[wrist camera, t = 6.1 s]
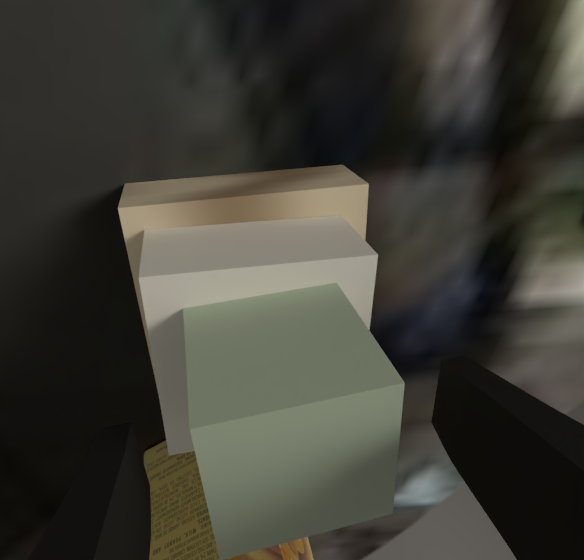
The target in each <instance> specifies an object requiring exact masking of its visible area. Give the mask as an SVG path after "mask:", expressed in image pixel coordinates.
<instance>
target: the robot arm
mask: <svg viewBox="0 0 584 560" xmlns="http://www.w3.org/2000/svg"><path fill="white" fill-rule="evenodd" d="M432 424H433V426H434V428H435V430H436V432H437V434H438V436H439V438H440V440H441V442H442V444H443V446H444V448H445V450H446V452H447V454H448V456H449V458H450V459H451V461H452V463H453V464H454V466H455V467H456V469H457V471H458V472H459V474H460V475H461V477H462V478H463V480H464V481H465V483H466V484H467V486H468V487H469V489H470V490H471V492H472V493H473V494H474V496H475V498H476V499H477V500H478V502H479V503H480V505H481V506H482V508H483V509H484V511H485V512H486V514H487V515H488V516H489V518H490V520H491V521H492V522H493V524H494V526H495V527H496V528H497V530H498V532H499V533H500V534H501V536H502V537H503V539H504V540H505V542H506V543H507V545H508V546H509V548H510V549H511V551H512V552H513V554H514V556H515V557H516V559H517V560H584V425H583V424H581V423H579V422H577V421H575V420H574V419H572V418H570V417H568V416H566V415H565V414H563V413H561V412H559V411H557V410H556V409H554V408H552V407H550V406H549V405H547V404H545V403H543V402H542V401H540V400H538V399H537V398H535V397H533V396H531V395H530V394H528V393H526V392H525V391H523V390H521V389H520V388H518V387H516V386H515V385H513V384H511V383H509V382H508V381H506V380H504V379H503V378H501V377H499V376H498V375H496V374H494V373H493V372H491V371H489V370H488V369H486V368H484V367H482V366H481V365H479V364H477V363H476V362H474V361H472V360H470V359H468V358H466V357H465V356H463V357H458V358H453V359H448V360H442V361H441V365H440V372H439V378H438V385H437V391H436V397H435V404H434V410H433V416H432ZM150 542H151V499H150V483H149V480H148V477H147V473H146V470H145V466H144V463H143V460H142V456H141V453H140V449H139V446H138V442H137V439H136V436H135V432H134V429H133V425H132V422H131V423H126V424H121V425H116V426H111V427H106V428H101V430H100V431H99V432H98V433H97V435H96V437H95V439H94V441H93V443H92V445H91V447H90V449H89V451H88V453H87V456H86V458H85V460H84V462H83V464H82V466H81V467H80V469H79V471H78V473H77V475H76V477H75V479H74V481H73V483H72V485H71V487H70V488H69V490H68V492H67V494H66V496H65V498H64V499H63V501H62V503H61V505H60V506H59V508H58V510H57V512H56V514H55V515H54V517H53V519H52V521H51V522H50V524H49V526H48V528H47V529H46V531H45V533H44V535H43V536H42V538H41V540H40V541H39V543H38V544H37V546H36V548H35V549H34V551H33V552H32V554H31V556H30V557H29V559H28V560H149V554H150Z"/></svg>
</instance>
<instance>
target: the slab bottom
mask: <svg viewBox="0 0 584 560" xmlns="http://www.w3.org/2000/svg"><path fill="white" fill-rule="evenodd" d="M368 189H369V184H368V183H367V182H365V181H364V180H363V179H361V178H360V177H359V176H357V175H356V174H355V173H353V172H352V171H350V170H349V169H348V168H346V167H345V166H344V165H334V166H322V167H311V168H300V169H288V170H277V171H265V172H254V173H242V174H231V175H219V176H208V177H196V178H185V179H173V180H162V181H150V182H139V183H127V184H125V185H124V188H123V192H122V195H121V199H120V202H119V205H118V212H119V217H120V221H121V226H122V230H123V235H124V239H125V244H126V249H127V253H128V258H129V262H130V267H131V271H132V276H133V281H134V285H135V290H136V294H137V299H138V303H139V308H140V313H141V317H142V322H143V326H144V331H145V335H146V340H147V345H148V349H149V354H150V358H151V363H152V367H153V372H154V377H155V371H154V365H153V359H152V353H151V348H150V342H149V336H148V330H147V324H146V318H145V312H144V306H143V301H142V295H141V289H140V283H139V270H140V262H141V254H142V245H143V237H144V230H148V229H161V228H174V227H188V226H201V225H215V224H228V223H241V222H255V221H268V220H282V219H295V218H309V217H322V216H335V215H341V216H342V217H343V218H344V219H345V220H346V221H347V222H348V223H349V224H350V225H351V226H352V227H353V229H354V230H355V231H356V232H357V233H358V234H359V235H360V236H361V237H362V238H363V239H364V240H365V239H366V222H367V206H368ZM155 381H156V377H155ZM156 386H157V383H156ZM157 390H158V389H157ZM158 395H159V394H158Z"/></svg>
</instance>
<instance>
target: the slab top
mask: <svg viewBox="0 0 584 560" xmlns="http://www.w3.org/2000/svg"><path fill="white" fill-rule="evenodd" d="M377 261H378V254H377V253H376V252H375V251H374V250H373V249H372V248H371V246H370V245H369V244H368V243H367V242H366V241H365V240H364V239H363V238H362V237H361V236H360V235H359V234H358V233H357V232H356V231H355V230H354V229H353V227H352V226H351V225H350V224H349V223H348V222H347V221H346V220H345V219H344V218H343V217H342V216H341V215H335V216H322V217H309V218H295V219H282V220H268V221H255V222H241V223H228V224H215V225H201V226H188V227H174V228H161V229H148V230H144V237H143V245H142V254H141V262H140V270H139V283H140V289H141V295H142V301H143V306H144V312H145V318H146V324H147V330H148V336H149V342H150V348H151V353H152V359H153V365H154V371H155V377H156V383H157V389H158V394H159V400H160V406H161V412H162V418H163V424H164V430H165V436H166V441H167V447H168V453H169V456H170V455H175V454H181V453H186V452H192V451H195V450H194V446H193V442H192V438H191V433H190V427H189V409H188V390H187V372H186V354H185V336H184V317H183V308H189V307H195V306H200V305H206V304H212V303H218V302H224V301H230V300H236V299H242V298H248V297H254V296H260V295H266V294H272V293H278V292H283V291H289V290H295V289H301V288H307V287H313V286H319V285H325V284H331V283H338V285H339V286H340V288H341V289H342V291H343V292H344V294H345V295H346V297H347V298H348V300H349V301H350V303H351V304H352V306H353V307H354V309H355V310H356V312H357V313H358V315H359V316H360V318H361V319H362V320H363V322H364V323H365V325H366V326H367V328H368V329H369V330H370V322H371V313H372V304H373V296H374V287H375V278H376V269H377Z"/></svg>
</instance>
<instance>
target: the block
mask: <svg viewBox="0 0 584 560" xmlns="http://www.w3.org/2000/svg"><path fill="white" fill-rule="evenodd" d="M183 317H184V336H185V354H186V372H187V390H188V409H189V427H190V433H191V438H192V442H193V446H194V450H195V455H196V459H197V463H198V468H199V472H200V476H201V481H202V485H203V489H204V494H205V498H206V502H207V507H208V511H209V515H210V519H211V524H212V528H213V532H214V537H215V541H216V545H217V550H218V554H219V558H220V560H224V559H227V558H231V557H235V556H238V555H242V554H246V553H250V552H253V551H257V550H261V549H264V548H268V547H272V546H275V545H279V544H283V543H286V542H290V541H294V540H297V539H301V538H305V537H308V536H312V535H316V534H319V533H323V532H327V531H330V530H334V529H338V528H342V527H345V526H349V525H353V524H356V523H360V522H364V521H367V520H371V519H375V518H378V517H382V516H386V515H389V514H393V503H394V493H395V482H396V471H397V460H398V450H399V439H400V428H401V418H402V407H403V396H404V385H405V383H404V381H403V380H402V378H401V377H400V375H399V374H398V372H397V371H396V369H395V368H394V366H393V365H392V363H391V362H390V360H389V359H388V357H387V356H386V354H385V353H384V352H383V350H382V349H381V347H380V346H379V344H378V343H377V341H376V340H375V338H374V337H373V335H372V334H371V332H370V331H369V329H368V328H367V326H366V325H365V323H364V322H363V320H362V319H361V318H360V316H359V315H358V313H357V312H356V310H355V309H354V307H353V306H352V304H351V303H350V301H349V300H348V298H347V297H346V295H345V294H344V292H343V291H342V289H341V288H340V286H339V285H338V283H331V284H325V285H319V286H313V287H307V288H301V289H295V290H289V291H283V292H278V293H272V294H266V295H260V296H254V297H248V298H242V299H236V300H230V301H224V302H218V303H212V304H206V305H200V306H195V307H189V308H183Z"/></svg>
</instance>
